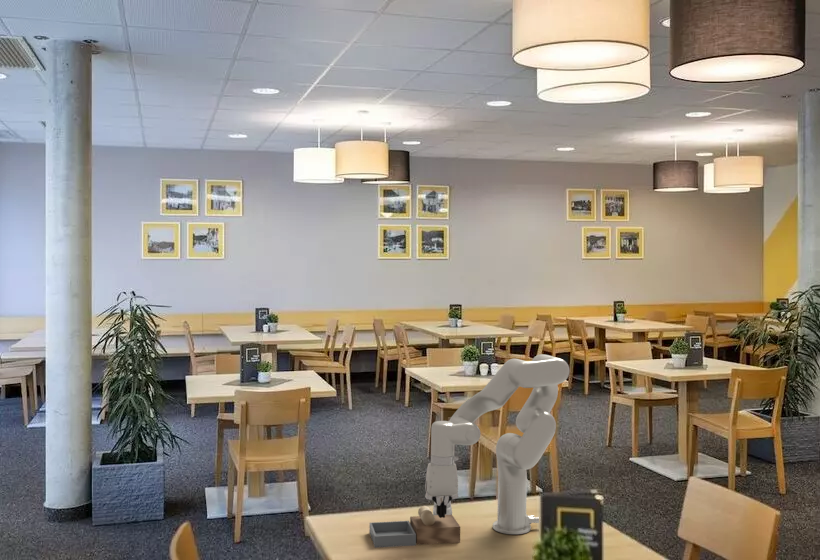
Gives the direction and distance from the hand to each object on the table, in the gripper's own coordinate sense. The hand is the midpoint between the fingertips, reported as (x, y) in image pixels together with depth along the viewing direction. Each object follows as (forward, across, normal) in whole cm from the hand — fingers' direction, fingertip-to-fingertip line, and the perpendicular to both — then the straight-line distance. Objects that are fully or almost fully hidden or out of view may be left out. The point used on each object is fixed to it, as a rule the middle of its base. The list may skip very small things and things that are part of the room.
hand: (441, 516), depth 264 cm
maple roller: (+1, +3, 0) cm, 3 cm away
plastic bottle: (+7, -4, -16) cm, 18 cm away
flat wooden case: (+7, +2, 0) cm, 7 cm away
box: (+7, +16, 0) cm, 17 cm away
